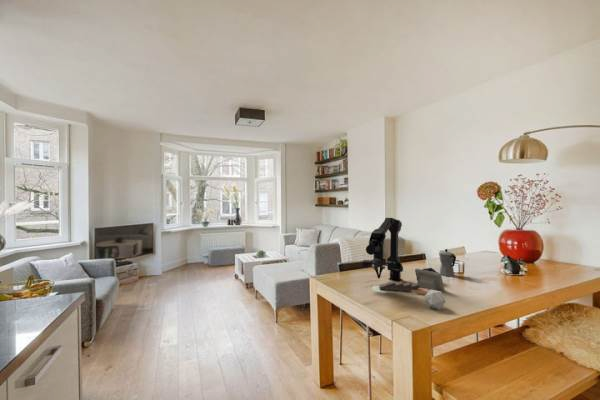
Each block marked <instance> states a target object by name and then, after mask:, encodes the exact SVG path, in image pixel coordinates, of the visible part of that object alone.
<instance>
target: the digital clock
mask: <svg viewBox="0 0 600 400" xmlns="http://www.w3.org/2000/svg"><path fill="white" fill-rule="evenodd" d="M414 271H415V277H416V281H417V282H418V284H419V287H420V288H424V289H428V290H430V289H431V290H436V291H441V292H443V291H444V290H445V286H444V282H443V276H442V275H441V274H440V272H438V273H436V272H437V271H436V272H431V271H426V270H422V269H421V268H415V269H414Z"/></svg>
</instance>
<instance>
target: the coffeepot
mask: <svg viewBox="0 0 600 400" xmlns="http://www.w3.org/2000/svg"><path fill="white" fill-rule="evenodd" d="M448 250H449V249H448V248H445V249H444V251H440V252H438V256H439V261H440V268H439V273H440V274H441V276H442V277H447V278H448V277H455V272H454V266H455V263H456V260H457V257H456V255H455V254H454V253H453V252H450V251H448Z"/></svg>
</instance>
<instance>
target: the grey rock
mask: <svg viewBox="0 0 600 400" xmlns="http://www.w3.org/2000/svg"><path fill="white" fill-rule="evenodd" d="M423 297H424V300H425V303H426V305H427V307H428V308H431V309H435V310H441V309H442V307H443V306H444V305H445V304H446V300H445V297H444V294H443V291H441V290H431V289H430V290H429V291H428V292H427V294H424V296H423Z"/></svg>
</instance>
